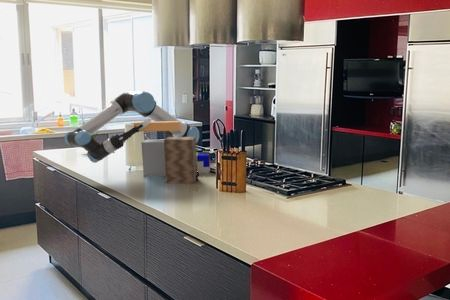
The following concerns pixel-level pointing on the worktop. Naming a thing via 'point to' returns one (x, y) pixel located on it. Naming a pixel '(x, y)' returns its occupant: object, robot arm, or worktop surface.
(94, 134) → the house plant
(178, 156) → the walnut stand
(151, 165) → the plinth
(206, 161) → the puzzle toy
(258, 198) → the worktop surface
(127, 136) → the robot arm
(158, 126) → the orange bar
